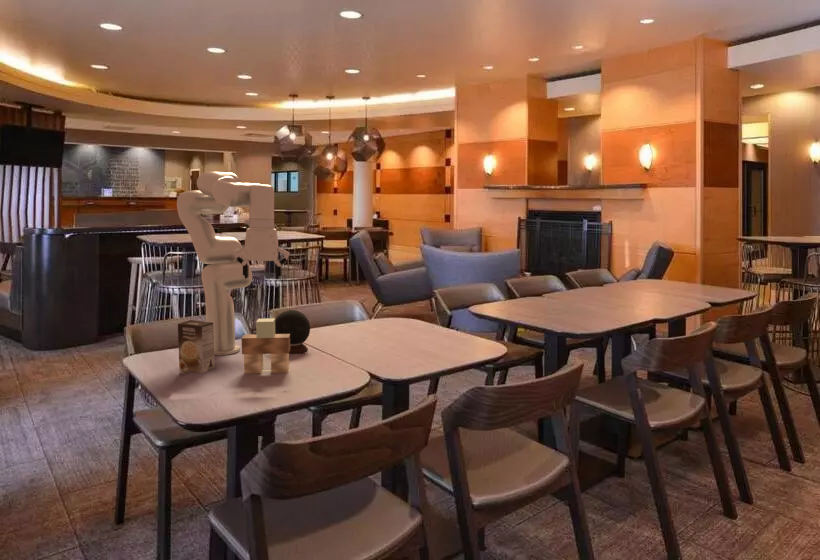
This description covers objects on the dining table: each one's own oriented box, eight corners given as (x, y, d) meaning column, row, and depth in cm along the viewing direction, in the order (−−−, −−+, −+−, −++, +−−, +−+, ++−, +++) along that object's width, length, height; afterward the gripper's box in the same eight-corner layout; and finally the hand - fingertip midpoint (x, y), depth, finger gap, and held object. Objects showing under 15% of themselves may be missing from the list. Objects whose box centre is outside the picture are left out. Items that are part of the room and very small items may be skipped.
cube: (256, 338, 184) (256, 321, 183) (259, 334, 189) (258, 318, 188) (273, 337, 184) (272, 321, 184) (275, 334, 189) (275, 318, 189)
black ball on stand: (273, 357, 209) (272, 314, 207) (272, 348, 222) (271, 307, 220) (312, 354, 213) (311, 312, 211) (309, 346, 225) (308, 306, 223)
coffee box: (178, 374, 188) (176, 323, 186) (192, 368, 194) (189, 319, 192) (203, 377, 185) (200, 325, 183) (216, 371, 191) (214, 321, 189)
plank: (241, 354, 184) (241, 338, 184) (244, 350, 189) (244, 334, 189) (288, 353, 186) (288, 337, 185) (290, 349, 190) (290, 333, 190)
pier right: (271, 372, 186) (270, 353, 185) (273, 368, 191) (272, 349, 190) (287, 372, 186) (287, 353, 185) (289, 368, 191) (288, 349, 190)
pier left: (244, 373, 185) (243, 354, 184) (247, 369, 190) (246, 350, 189) (261, 373, 185) (260, 354, 185) (263, 368, 190) (262, 350, 190)
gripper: (231, 224, 186) (231, 279, 188) (288, 226, 187) (288, 280, 190) (235, 222, 193) (236, 275, 196) (291, 224, 195) (290, 276, 197)
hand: (262, 278), depth 193 cm, fingers open, 9 cm apart
